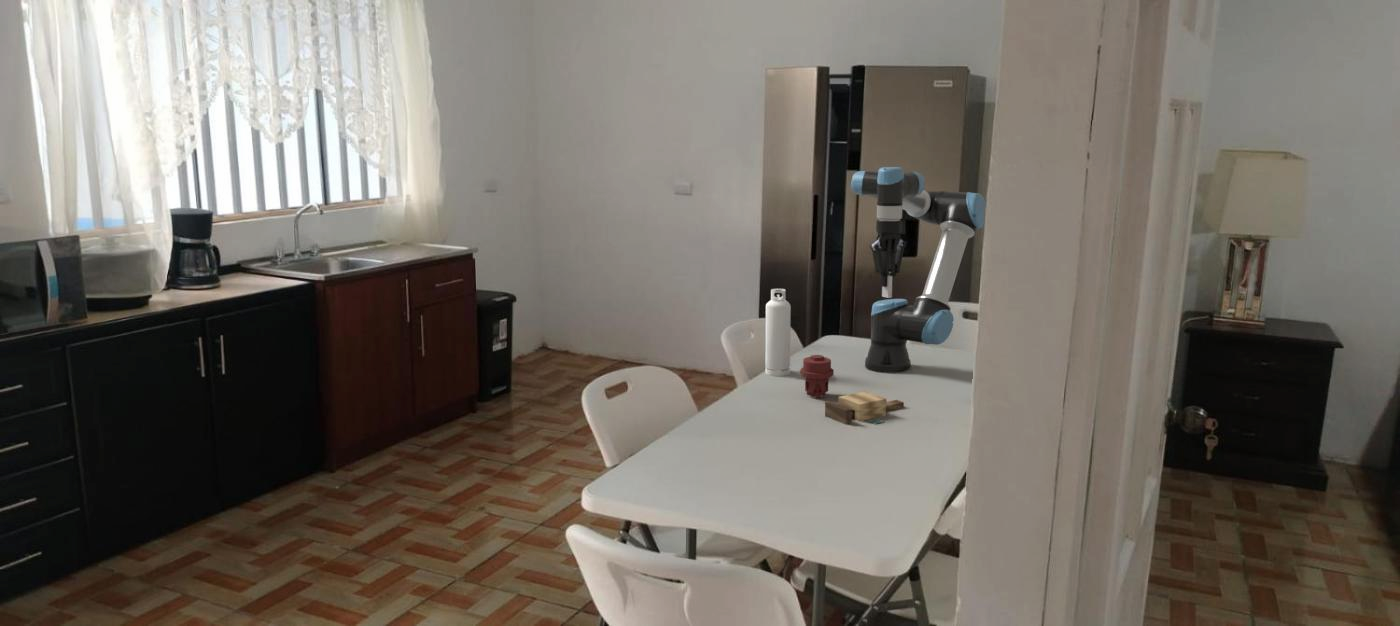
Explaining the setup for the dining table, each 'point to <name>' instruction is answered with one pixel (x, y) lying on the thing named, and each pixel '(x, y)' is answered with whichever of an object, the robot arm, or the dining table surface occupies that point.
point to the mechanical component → (816, 375)
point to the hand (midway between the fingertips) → (886, 296)
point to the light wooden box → (864, 405)
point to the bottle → (777, 335)
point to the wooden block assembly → (847, 414)
